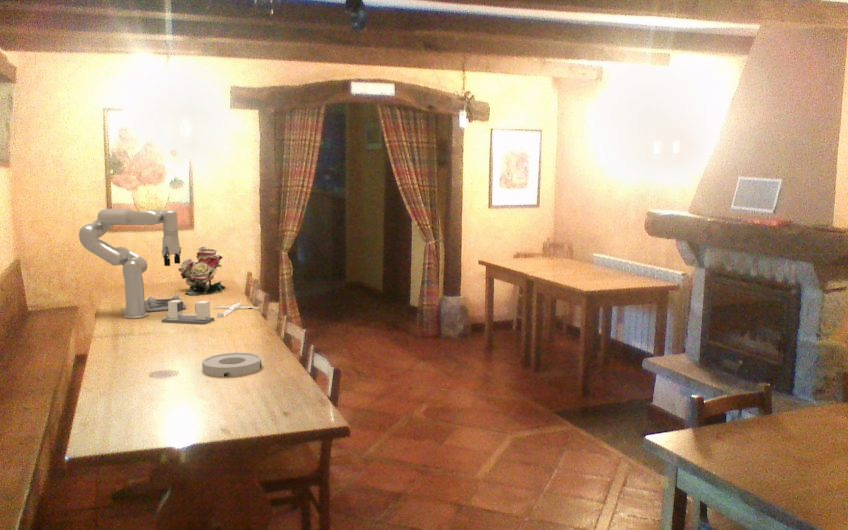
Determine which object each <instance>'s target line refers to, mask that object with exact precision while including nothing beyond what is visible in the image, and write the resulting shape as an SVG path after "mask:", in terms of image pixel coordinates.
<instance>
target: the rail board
mask: <svg viewBox="0 0 848 530" xmlns="http://www.w3.org/2000/svg"><path fill="white" fill-rule="evenodd" d="M210 303H211V301H209V300H208V301H207V300H200V301H197V302H195V304H194V306H195V307H194V309H195V314H185V313H183V314H180V315H178V316H179V318H178V319H175V318H169V313H166V317H165V318H162V319H161V323H165V324H166V323H167V324H169V323H170V324H187V325H188V324H190V325H207V324H210V323H211V322H214V321H215V317H211V304H210Z"/></svg>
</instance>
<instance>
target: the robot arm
mask: <svg viewBox="0 0 848 530" xmlns="http://www.w3.org/2000/svg"><path fill="white" fill-rule="evenodd" d="M158 224H159V225H160V224H162V231H163V233H162V234H163V237H162V250H161V254H162V257H163V263H164V265H163V266H165V267H170V266H171V258H170V257H171V255H174V256H173V257H174V258H173V262H174V264H179V265H180V264H181V253H182V247H181V246H180V238H179V223H178V212H177V211H176V210H171V209H170V210H168V209H167V210H161V209H154V210H145V211H144V210H132V209H129V208H124V209H123V208H121V209H120V208H118V209H116V208H105V209H101V210H100V211H98V213H97V217H96V220H95V221H94V222H92V223H88V224H83V226H81V228H80V229H79V232H78V239H79V242H80V244H81V245H82V247H83V248H84V249H85V250H87V251H89V252H90V253H92V254H93V255H95V256H97V257H98V258H100V259H101V260H103V261H105V262H107V263H109V264H110V265H111V266H113V267H114V266H120V265H121V266H122V275H123V279H124V292H125V293H124V295H125V306H126V308H121V309H120V313H124V314H123V318H124V319H141V318H146V317H148V316H149V312H147V311H146V308H145V301H146V300H145V287H144V279H143V273H145V272H146V271H147V270H148V262H147V261H146V260H145V258H143V257H142V256H141V255H139V254H137V253H136V252H133V251H131V250H130V249H128V248H126V247H123V246H118V247H115V246H113V245H111V244H109V243H108V242H107V241H103V240H101V239H100V238H101V237H103V236H104V235H106V234H107V232H109V231H110V230H112V228H113V227H114V226H154V225H158Z"/></svg>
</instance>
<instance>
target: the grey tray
mask: <svg viewBox="0 0 848 530" xmlns="http://www.w3.org/2000/svg"><path fill="white" fill-rule="evenodd" d="M155 298H156V297H153V296H148V297H147V299H146V300H145V312H147V313H157V312H168V302H169V301H172V300H182V299H181V297H180V296H179V295H176V294H173V295H172V297H171V298H162V299H160V298H159V299H157V298H156V299H155ZM182 302H183V310H186V309H187V306H186V304H185V302H184V301H183V300H182Z"/></svg>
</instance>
